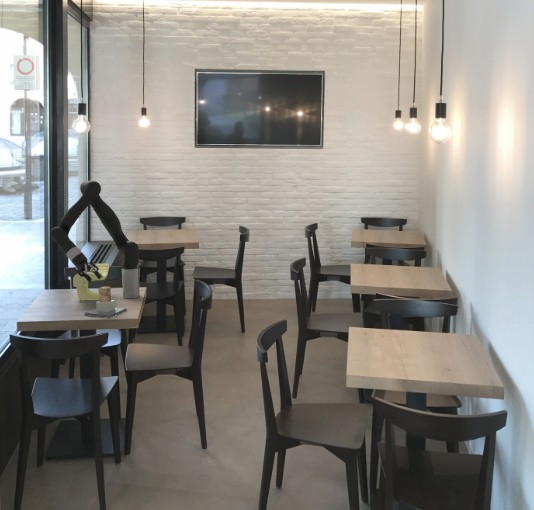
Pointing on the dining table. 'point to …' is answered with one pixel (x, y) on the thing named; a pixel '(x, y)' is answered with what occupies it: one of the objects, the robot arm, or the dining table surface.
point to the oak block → (104, 294)
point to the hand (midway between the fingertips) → (95, 279)
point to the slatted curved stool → (83, 283)
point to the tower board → (103, 314)
